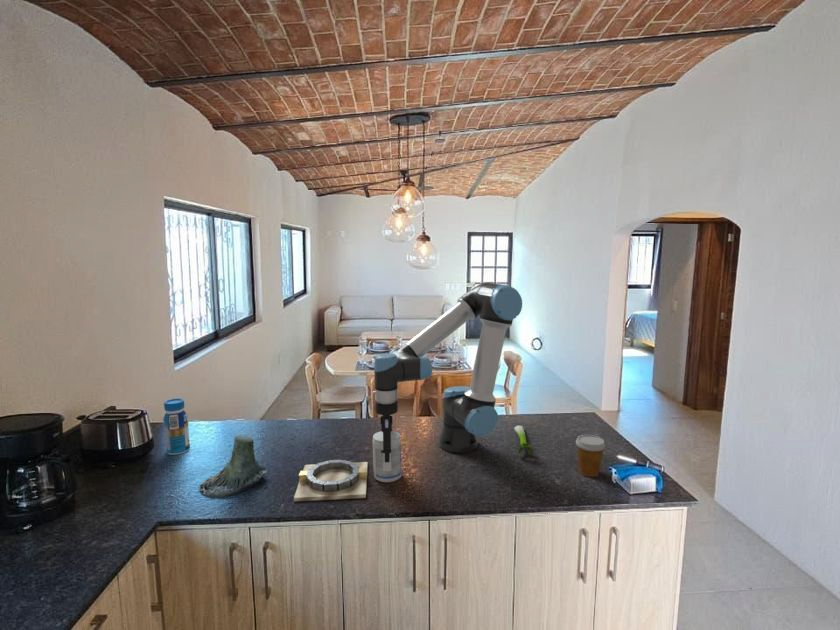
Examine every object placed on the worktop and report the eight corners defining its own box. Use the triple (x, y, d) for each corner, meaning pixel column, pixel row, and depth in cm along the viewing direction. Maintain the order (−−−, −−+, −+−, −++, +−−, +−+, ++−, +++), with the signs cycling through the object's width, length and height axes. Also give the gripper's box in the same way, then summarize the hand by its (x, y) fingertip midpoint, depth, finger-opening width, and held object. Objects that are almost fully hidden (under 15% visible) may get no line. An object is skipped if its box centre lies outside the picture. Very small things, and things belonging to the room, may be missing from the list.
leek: (527, 434, 200) (535, 461, 170) (510, 436, 201) (516, 463, 171) (525, 420, 200) (533, 445, 170) (508, 422, 201) (514, 446, 171)
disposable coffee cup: (603, 468, 165) (604, 436, 164) (604, 481, 157) (606, 447, 155) (574, 464, 169) (576, 432, 167) (574, 477, 160) (575, 443, 158)
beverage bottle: (160, 453, 180) (156, 403, 177) (179, 444, 188) (175, 396, 184) (177, 457, 177) (172, 405, 174) (195, 448, 184) (191, 398, 181)
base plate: (367, 465, 169) (367, 461, 169) (365, 497, 148) (365, 494, 147) (305, 467, 167) (305, 464, 167) (294, 501, 146) (293, 497, 146)
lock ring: (367, 465, 167) (366, 458, 166) (365, 490, 150) (365, 482, 149) (304, 468, 165) (303, 461, 164) (295, 493, 148) (295, 486, 148)
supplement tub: (406, 478, 160) (406, 437, 157) (382, 486, 154) (381, 443, 152) (392, 467, 168) (391, 427, 165) (368, 474, 162) (367, 434, 160)
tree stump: (200, 477, 162) (210, 426, 162) (260, 480, 170) (270, 431, 170) (196, 501, 145) (207, 444, 145) (263, 503, 153) (274, 449, 153)
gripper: (375, 389, 169) (376, 445, 172) (374, 414, 144) (375, 479, 147) (396, 388, 169) (396, 445, 173) (399, 413, 145) (399, 478, 148)
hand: (386, 461), depth 160 cm, fingers open, 13 cm apart
